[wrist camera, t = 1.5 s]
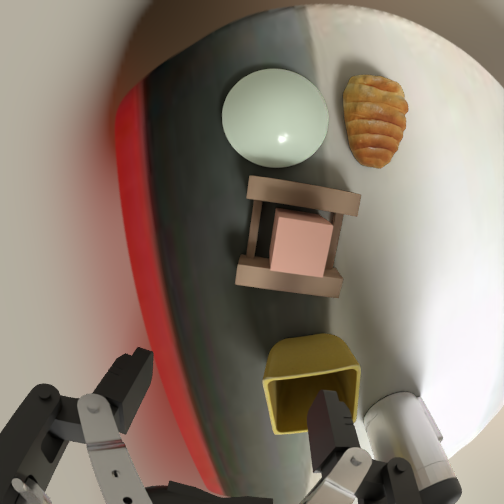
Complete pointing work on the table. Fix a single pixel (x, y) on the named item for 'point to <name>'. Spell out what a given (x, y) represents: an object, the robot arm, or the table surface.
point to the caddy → (303, 195)
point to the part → (299, 243)
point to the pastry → (374, 118)
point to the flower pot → (308, 378)
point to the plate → (275, 118)
